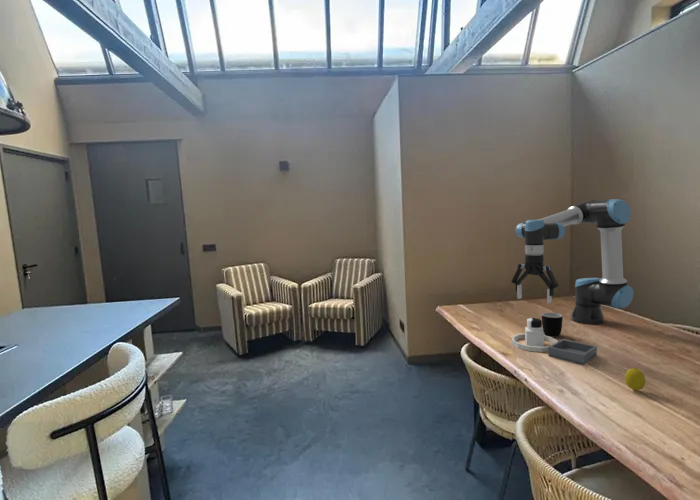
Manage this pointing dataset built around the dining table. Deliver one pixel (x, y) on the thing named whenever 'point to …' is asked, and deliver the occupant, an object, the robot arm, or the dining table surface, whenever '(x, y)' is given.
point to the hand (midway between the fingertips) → (533, 300)
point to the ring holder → (532, 348)
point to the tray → (573, 351)
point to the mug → (552, 324)
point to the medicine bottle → (534, 333)
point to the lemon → (635, 379)
